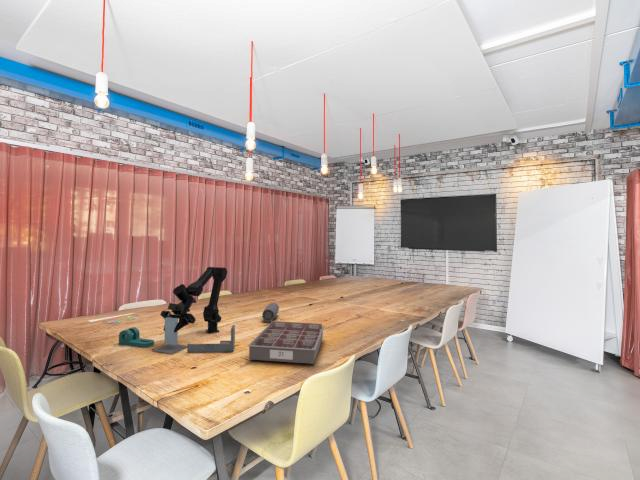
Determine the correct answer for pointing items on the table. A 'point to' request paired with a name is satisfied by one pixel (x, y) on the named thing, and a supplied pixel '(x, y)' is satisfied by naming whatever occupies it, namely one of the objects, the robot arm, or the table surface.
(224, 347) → the board rack
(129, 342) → the bracket
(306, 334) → the organizer tray
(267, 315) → the bluetooth speaker
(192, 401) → the table surface
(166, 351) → the rubber mat
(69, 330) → the table surface
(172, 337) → the pale blue-grey block
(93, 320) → the printed paper
